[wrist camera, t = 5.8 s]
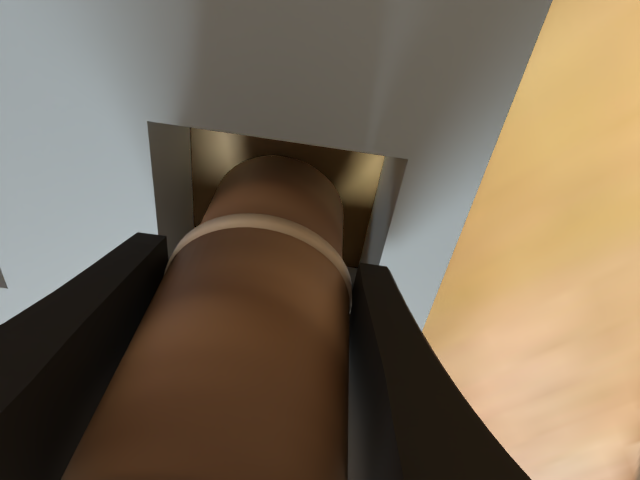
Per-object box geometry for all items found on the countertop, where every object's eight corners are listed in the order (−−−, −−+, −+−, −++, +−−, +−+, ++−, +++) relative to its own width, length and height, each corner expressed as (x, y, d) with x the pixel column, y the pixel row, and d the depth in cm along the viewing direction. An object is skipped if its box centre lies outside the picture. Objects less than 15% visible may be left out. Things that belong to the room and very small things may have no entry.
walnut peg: (205, 258, 14) (73, 575, 7) (204, 133, 11) (3, 449, 5) (338, 279, 14) (324, 605, 7) (366, 161, 11) (383, 500, 5)
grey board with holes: (-114, 281, 17) (-191, 342, 14) (-389, -188, 9) (-652, -226, 7) (383, 345, 18) (388, 414, 15) (510, -40, 10) (561, -26, 8)
